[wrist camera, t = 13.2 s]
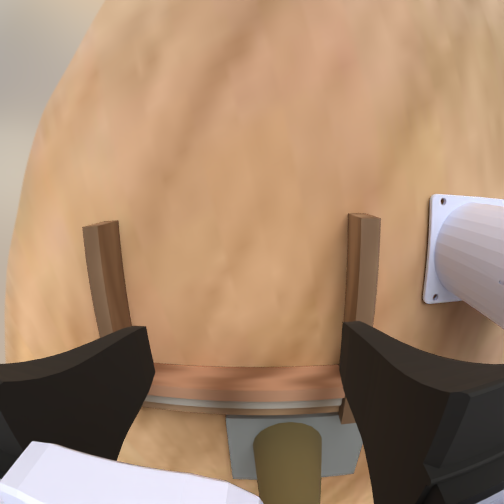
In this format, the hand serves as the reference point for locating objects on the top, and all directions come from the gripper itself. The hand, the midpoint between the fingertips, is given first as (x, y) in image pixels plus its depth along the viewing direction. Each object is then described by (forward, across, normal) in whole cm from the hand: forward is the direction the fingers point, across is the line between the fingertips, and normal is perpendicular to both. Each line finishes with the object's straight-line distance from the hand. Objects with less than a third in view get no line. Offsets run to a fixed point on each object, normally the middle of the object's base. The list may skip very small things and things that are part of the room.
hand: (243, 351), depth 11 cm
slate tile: (+10, -3, +17) cm, 20 cm away
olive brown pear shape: (+10, -2, +16) cm, 19 cm away
